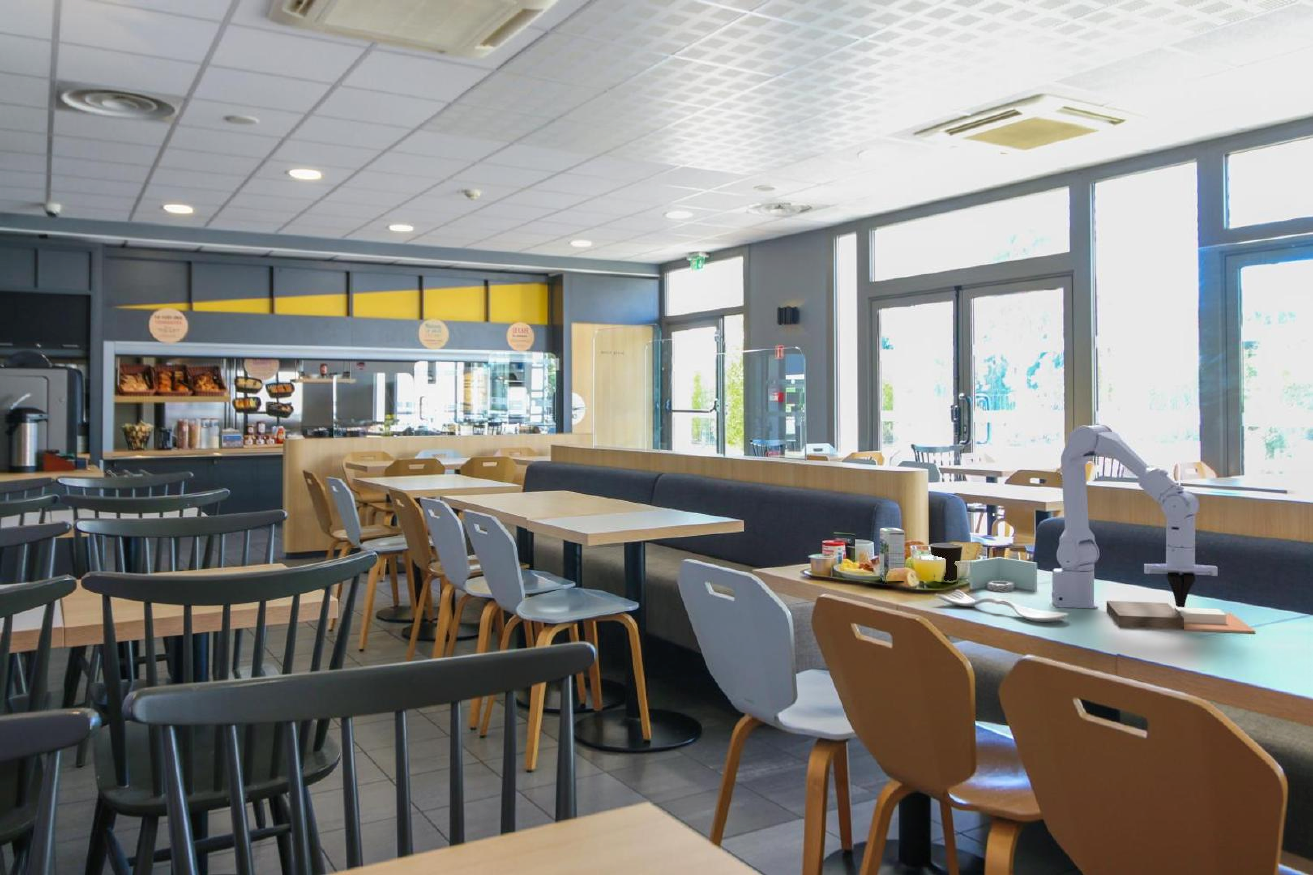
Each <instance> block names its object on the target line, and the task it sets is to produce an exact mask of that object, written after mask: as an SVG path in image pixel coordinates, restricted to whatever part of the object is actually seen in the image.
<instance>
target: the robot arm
mask: <svg viewBox="0 0 1313 875" xmlns="http://www.w3.org/2000/svg"><path fill="white" fill-rule="evenodd" d="M1098 454H1099V455H1100V454H1101V455H1106V456H1111V457H1113V458H1114V459H1115V460H1116V461H1117V462H1118V463H1120V465H1122V466H1124V467H1125V468H1126V470H1128V471H1130V472H1131V473H1132V474H1133V475H1134V476H1136V477H1137V479H1138V486H1139V487H1140V488H1141V489H1142V490H1143V491H1144V492H1145V493H1146V494H1148V495H1149V496H1150V497H1151V498H1152V499H1154V501H1155V502H1157V504H1158V505H1160V508H1161V511H1162V513H1163V515H1164V516H1165V518H1166V526H1165V527H1166V528H1165V529H1166V532H1165V536H1166V538H1165V539H1166V540H1165V545H1166V546H1165V549H1166V551H1165V563H1143V572H1144V574H1147V575H1151V574H1161V575H1162V574H1165V578H1166V579H1167V581H1168V583H1169V585H1170V588H1171V591H1172V594H1173V597H1174V603H1175V606H1176V608H1186V601H1187V598H1188V594H1189V593H1190V590H1191V589H1192V587H1193V584H1194V583H1195V582H1196V579H1197V578H1196V576H1197V575H1198V576H1199V575H1200V576H1201V575H1202V576H1213V577H1218V570H1219V569H1218V568H1219V567H1217V566H1216V565H1205V564H1196V514H1197V513H1198V512H1199V511H1200V507H1201V505H1200V501H1199V500H1200V499H1199V498H1198V497H1197V495H1196V494H1195V493H1194V492H1192V491H1189V490H1188V491H1187V490H1184V489H1185V488H1184V486H1182V485H1178V484H1177V483H1176V482H1175V481H1173V480H1172V478H1170V476H1168V474H1169V472H1168V471H1166V470H1165V469H1160V467H1159V468H1158V467H1150V466H1149V465H1148V464H1147V463H1146V462H1145V461H1144V460H1143V459H1142V458H1141V457H1140V456H1139V455H1138V454H1137V453H1136V452H1135V450H1133V449H1131V447H1130V446H1129V445H1128V444H1127V443H1126V442H1124V440H1123V439H1122V438H1121V437H1120V435H1119V433H1117V432H1115V431H1113V430H1112V429H1111V428H1110V427H1109V426H1107V425H1105V424H1096V425H1079V426H1077V427H1075V428H1074V429H1073V430H1072V431H1071V432H1070V433H1068V434H1067V441H1066V444H1065V446H1064V448H1063V451H1062V452H1061V455H1060V466H1061V467H1060V468H1061V483H1062V484H1061V486H1062V500H1063V518H1064V530H1063V532H1062V533H1061V535H1060V536H1059V540H1058V541H1059V542H1058V544H1059V545H1058V547H1057V550H1056V560H1057V563H1059V565H1060V568H1053V569H1052V574H1051V575H1052V576H1051V577H1052V578H1051V579H1052V581H1051V582H1052V583H1051V587H1052V589H1051V600H1052V602H1053V604H1054V606H1055V608H1073V609H1074V608H1077V609H1079V608H1080V609H1098V608H1099V606H1098V605H1097V604H1096V602H1095V563H1097V562H1098V560H1099V558H1100V548H1099V547H1098V545H1097V543H1096V537H1095V534H1094V533H1093V531H1092V530H1091V529H1090V520H1089V508H1088V507H1089V506H1088V503H1089V502H1088V489H1087V475H1086V474H1087V471H1086V470H1087V469H1086V465H1087V464H1088V462H1090V461H1091V459H1092V458H1094V457H1095V456H1096V455H1098ZM1195 575H1196V576H1195Z"/></svg>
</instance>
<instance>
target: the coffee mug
mask: <svg viewBox="0 0 1313 875" xmlns="http://www.w3.org/2000/svg"><path fill="white" fill-rule="evenodd" d="M954 544H955V543H951V542H949V543H948V542H939V543H936V542H935V543H931V544H930V545H929V548H930V549H929V550H930V555H931V554H932V555H934V556H938V557H942V558H945V559H946V573H945V576H944V580H945V581H947V580H949V581H953V580H956V579H957V566H956V565H955V564H954V563H955V561H961V560H962V552H963V544H960V545H954ZM961 562H962V561H961Z"/></svg>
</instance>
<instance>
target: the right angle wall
mask: <svg viewBox="0 0 1313 875" xmlns="http://www.w3.org/2000/svg"><path fill="white" fill-rule="evenodd" d="M982 588H986V589H987V590H989V591H991V592H992V591H994V592H1000V593H1001V592H1002V593H1007V592H1014V589H1015V588H1017V589H1024V590H1028V591H1038V562H1033V561H1029V560H1021V559H1014V558H1008V557H1001V556H996V557H989V558H984V559H977V560H971V561H969V589H970V590H977V589H982Z"/></svg>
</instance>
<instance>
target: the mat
mask: <svg viewBox="0 0 1313 875" xmlns="http://www.w3.org/2000/svg"><path fill="white" fill-rule="evenodd" d="M1224 613H1225V614H1226V624H1218V623H1193V622H1184V629H1183V630H1184V631H1186V632H1187V631H1191V632H1192V631H1193V632H1211V633H1213V632H1214V633H1237V634H1238V633H1239V634H1256V630H1255V629H1253V628H1252V627H1251V626H1249V625H1248V624H1246V622H1244V621H1242V620H1241V619H1239V618H1238V616H1236V615H1234V614H1232V613H1231V612H1224Z"/></svg>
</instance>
